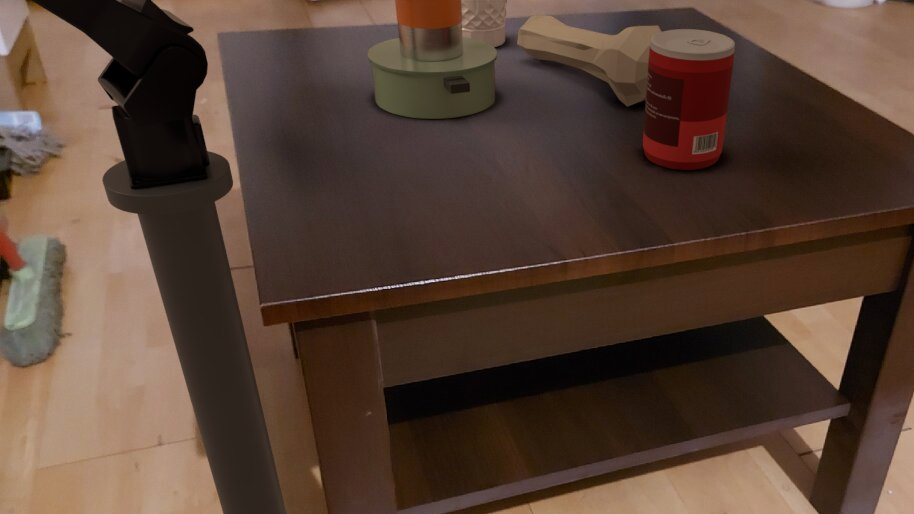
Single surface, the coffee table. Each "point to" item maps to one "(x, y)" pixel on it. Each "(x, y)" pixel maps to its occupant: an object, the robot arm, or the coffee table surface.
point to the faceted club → (594, 52)
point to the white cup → (484, 20)
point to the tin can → (430, 29)
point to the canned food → (687, 97)
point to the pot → (434, 81)
